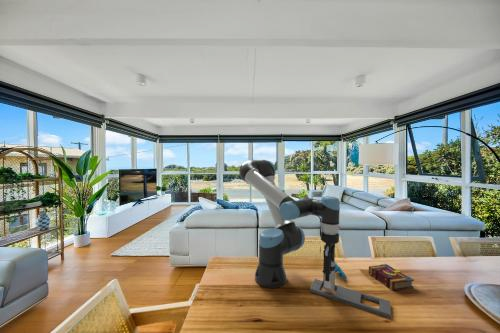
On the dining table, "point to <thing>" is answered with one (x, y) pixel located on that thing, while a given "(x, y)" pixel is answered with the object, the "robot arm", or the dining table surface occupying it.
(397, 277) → the decorative book
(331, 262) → the beer can
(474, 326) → the dining table surface
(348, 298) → the rail
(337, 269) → the gear
